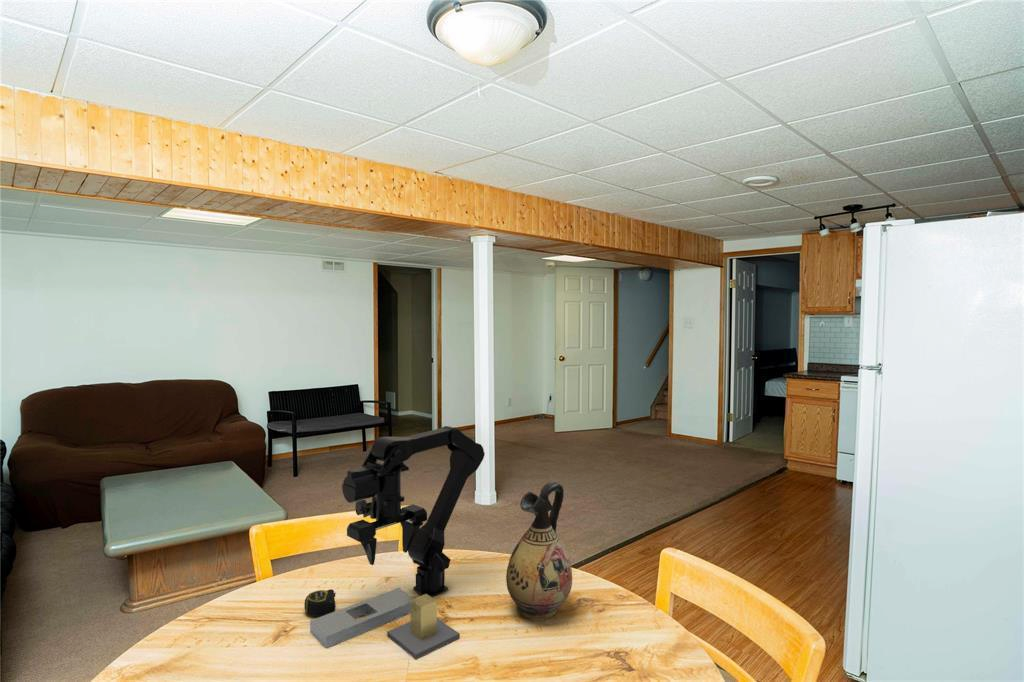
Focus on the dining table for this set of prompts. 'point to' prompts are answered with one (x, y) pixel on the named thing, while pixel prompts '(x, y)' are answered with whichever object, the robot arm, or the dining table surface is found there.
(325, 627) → the metal plate
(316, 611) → the tape measure
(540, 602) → the ceramic jug
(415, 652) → the rubber mat
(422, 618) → the brass block
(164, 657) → the dining table surface
